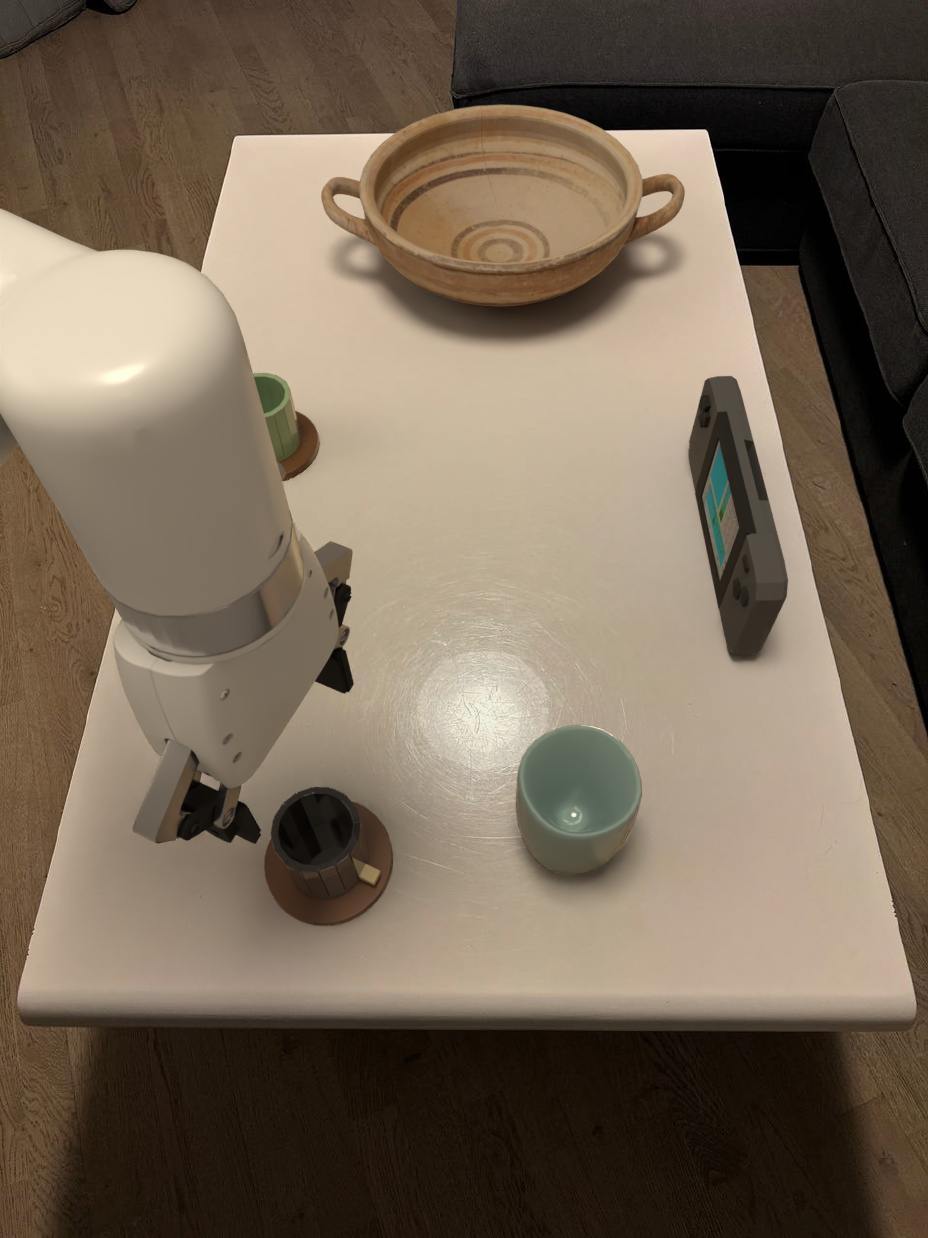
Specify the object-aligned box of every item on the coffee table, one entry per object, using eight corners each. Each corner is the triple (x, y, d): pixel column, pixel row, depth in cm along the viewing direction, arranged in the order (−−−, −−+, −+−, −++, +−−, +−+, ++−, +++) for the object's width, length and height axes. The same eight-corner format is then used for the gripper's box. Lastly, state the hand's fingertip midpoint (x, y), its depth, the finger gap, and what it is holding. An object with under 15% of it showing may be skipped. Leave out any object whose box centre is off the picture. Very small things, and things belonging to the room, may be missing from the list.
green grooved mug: (309, 452, 87) (299, 405, 82) (237, 476, 86) (222, 431, 81) (289, 411, 90) (277, 364, 85) (219, 434, 89) (203, 388, 84)
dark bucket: (313, 806, 68) (300, 773, 63) (398, 845, 66) (391, 815, 62) (271, 877, 65) (253, 849, 60) (358, 921, 64) (347, 895, 59)
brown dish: (216, 483, 86) (214, 477, 86) (230, 413, 91) (229, 407, 91) (314, 483, 86) (313, 477, 86) (323, 412, 91) (322, 406, 90)
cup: (497, 805, 69) (499, 746, 60) (594, 770, 70) (609, 707, 62) (539, 905, 65) (547, 856, 56) (641, 865, 66) (664, 812, 58)
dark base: (258, 926, 64) (256, 923, 64) (274, 802, 69) (272, 798, 69) (389, 926, 64) (388, 923, 63) (396, 802, 69) (395, 798, 68)
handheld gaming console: (681, 450, 88) (702, 367, 79) (711, 449, 88) (735, 366, 79) (725, 662, 75) (755, 591, 67) (759, 661, 75) (793, 589, 67)
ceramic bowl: (657, 186, 111) (672, 100, 102) (685, 352, 95) (705, 266, 86) (343, 189, 111) (331, 104, 103) (319, 353, 96) (303, 269, 87)
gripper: (244, 395, 42) (305, 607, 57) (-18, 705, 34) (132, 862, 48) (391, 446, 40) (416, 652, 55) (153, 787, 32) (256, 926, 46)
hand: (283, 751), depth 51 cm, fingers open, 9 cm apart
